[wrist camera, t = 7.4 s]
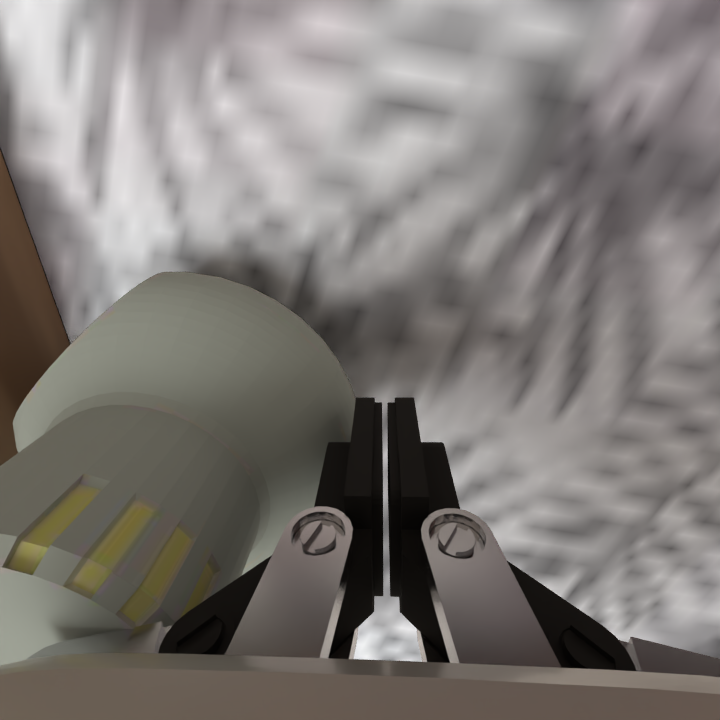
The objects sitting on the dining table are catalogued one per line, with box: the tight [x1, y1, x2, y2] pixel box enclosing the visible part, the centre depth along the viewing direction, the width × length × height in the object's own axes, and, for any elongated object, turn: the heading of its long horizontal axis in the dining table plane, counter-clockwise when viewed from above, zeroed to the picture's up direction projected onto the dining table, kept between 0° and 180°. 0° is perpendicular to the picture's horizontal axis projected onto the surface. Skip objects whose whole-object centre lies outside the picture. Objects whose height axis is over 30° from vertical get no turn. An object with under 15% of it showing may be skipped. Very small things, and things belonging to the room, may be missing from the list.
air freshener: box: [0, 272, 356, 665], centre depth 11 cm, size 11×8×10 cm
